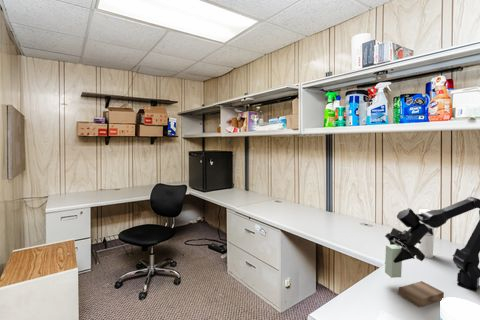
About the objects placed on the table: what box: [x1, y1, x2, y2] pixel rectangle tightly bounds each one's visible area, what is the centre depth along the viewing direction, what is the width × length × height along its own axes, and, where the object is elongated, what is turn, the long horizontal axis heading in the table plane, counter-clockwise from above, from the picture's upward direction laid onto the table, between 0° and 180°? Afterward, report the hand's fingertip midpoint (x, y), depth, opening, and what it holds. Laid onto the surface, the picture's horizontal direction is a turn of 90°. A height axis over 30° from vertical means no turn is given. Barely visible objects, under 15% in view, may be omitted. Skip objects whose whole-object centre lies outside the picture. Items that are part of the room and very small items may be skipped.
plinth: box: [397, 281, 445, 308], centre depth 108 cm, size 14×9×3 cm, turn 110°
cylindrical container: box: [417, 209, 435, 259], centre depth 146 cm, size 7×7×25 cm
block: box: [384, 244, 403, 279], centre depth 116 cm, size 4×4×13 cm
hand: (390, 259), depth 116 cm, fingers closed on block, 4 cm apart
